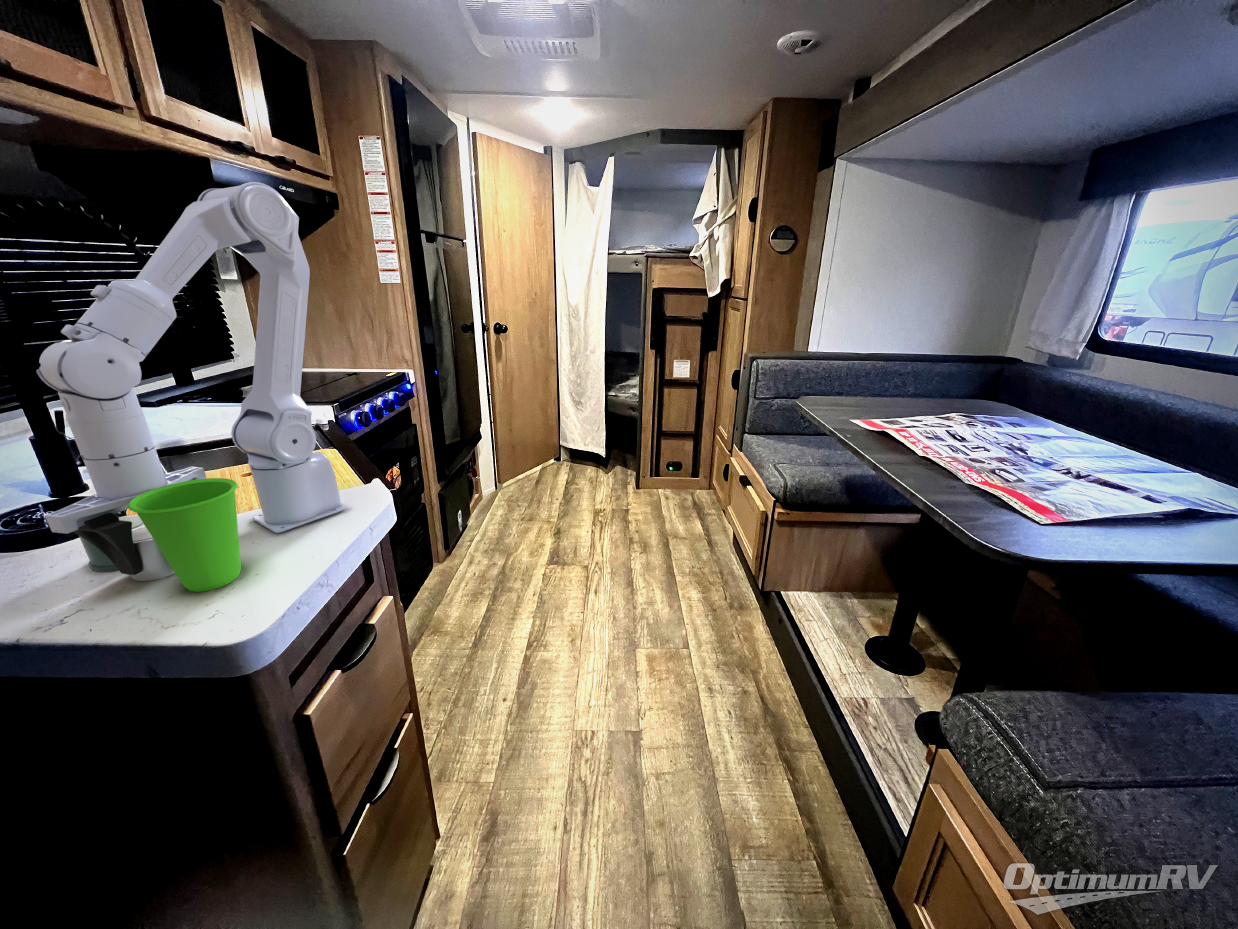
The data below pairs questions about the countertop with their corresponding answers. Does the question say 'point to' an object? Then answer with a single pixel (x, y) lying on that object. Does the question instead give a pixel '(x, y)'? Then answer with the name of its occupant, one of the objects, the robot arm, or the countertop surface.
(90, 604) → the countertop surface
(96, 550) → the green round puck
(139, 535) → the steel cup
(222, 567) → the cup
